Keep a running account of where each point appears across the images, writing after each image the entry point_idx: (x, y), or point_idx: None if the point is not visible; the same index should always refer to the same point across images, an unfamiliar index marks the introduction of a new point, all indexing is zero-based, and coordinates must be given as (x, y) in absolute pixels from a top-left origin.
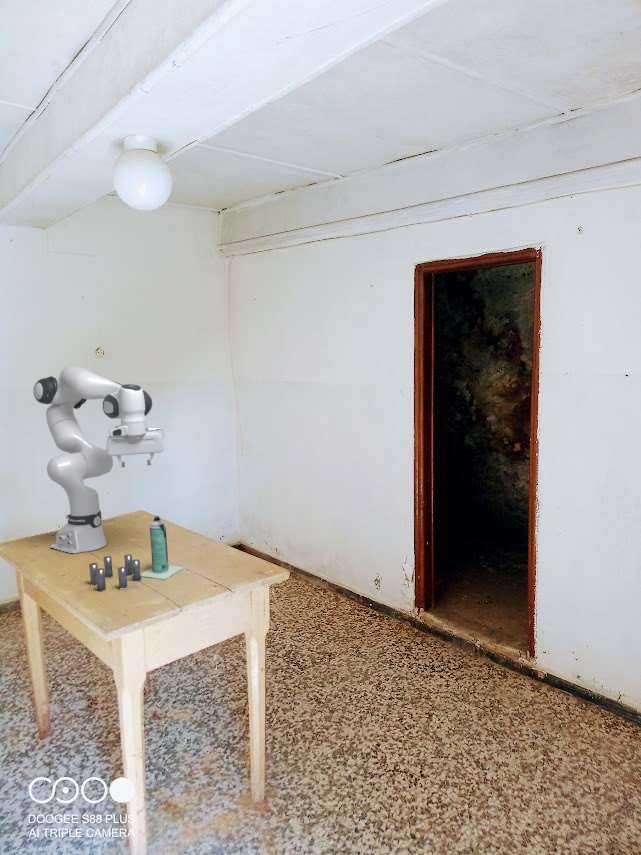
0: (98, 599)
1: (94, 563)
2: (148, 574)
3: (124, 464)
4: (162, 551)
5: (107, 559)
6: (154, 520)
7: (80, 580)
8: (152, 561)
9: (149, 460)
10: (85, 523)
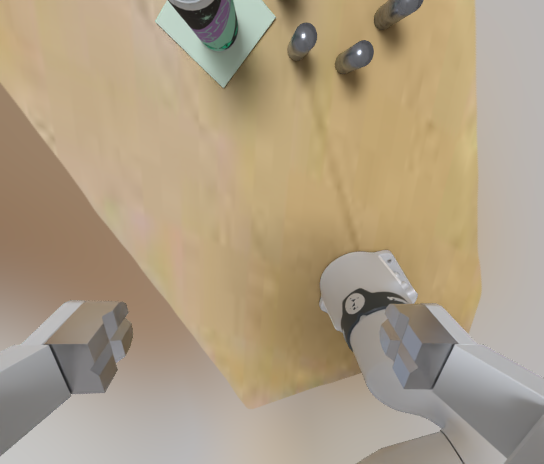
0: None
1: (407, 2)
2: (250, 10)
3: (411, 322)
4: None
5: (363, 41)
6: None
7: (407, 66)
8: (235, 11)
9: (56, 359)
10: (383, 293)
